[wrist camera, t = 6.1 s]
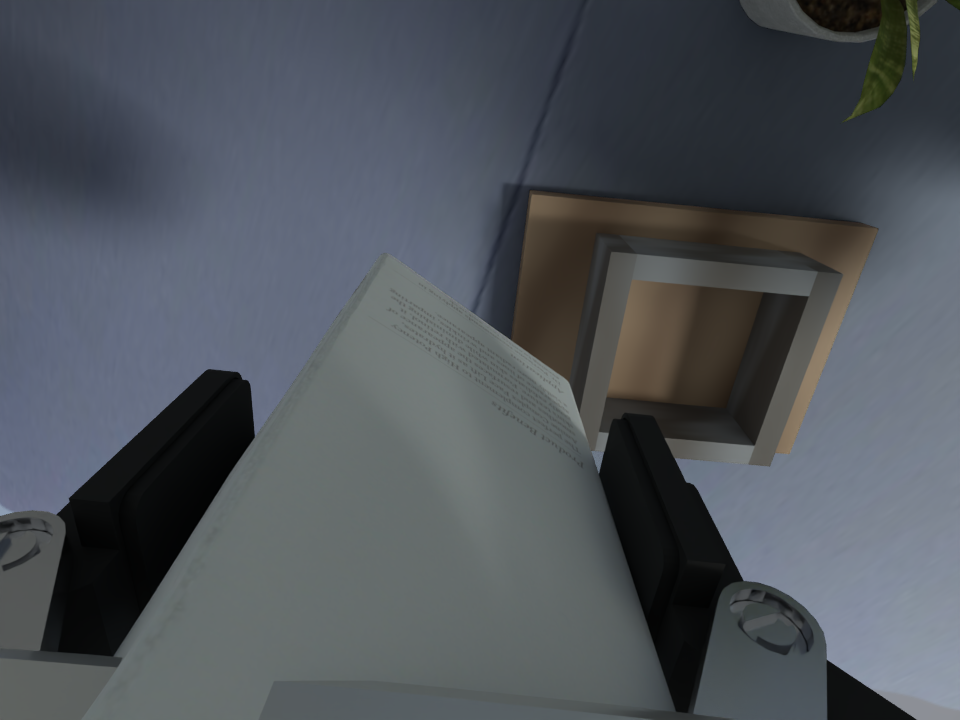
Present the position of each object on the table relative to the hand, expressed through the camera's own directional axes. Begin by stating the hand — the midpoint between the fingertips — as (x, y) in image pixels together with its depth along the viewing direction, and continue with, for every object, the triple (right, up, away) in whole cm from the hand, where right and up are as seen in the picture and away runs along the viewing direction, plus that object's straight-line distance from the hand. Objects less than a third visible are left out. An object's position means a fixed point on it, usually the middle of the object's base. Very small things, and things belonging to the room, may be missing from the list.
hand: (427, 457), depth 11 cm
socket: (+12, +4, +21) cm, 25 cm away
